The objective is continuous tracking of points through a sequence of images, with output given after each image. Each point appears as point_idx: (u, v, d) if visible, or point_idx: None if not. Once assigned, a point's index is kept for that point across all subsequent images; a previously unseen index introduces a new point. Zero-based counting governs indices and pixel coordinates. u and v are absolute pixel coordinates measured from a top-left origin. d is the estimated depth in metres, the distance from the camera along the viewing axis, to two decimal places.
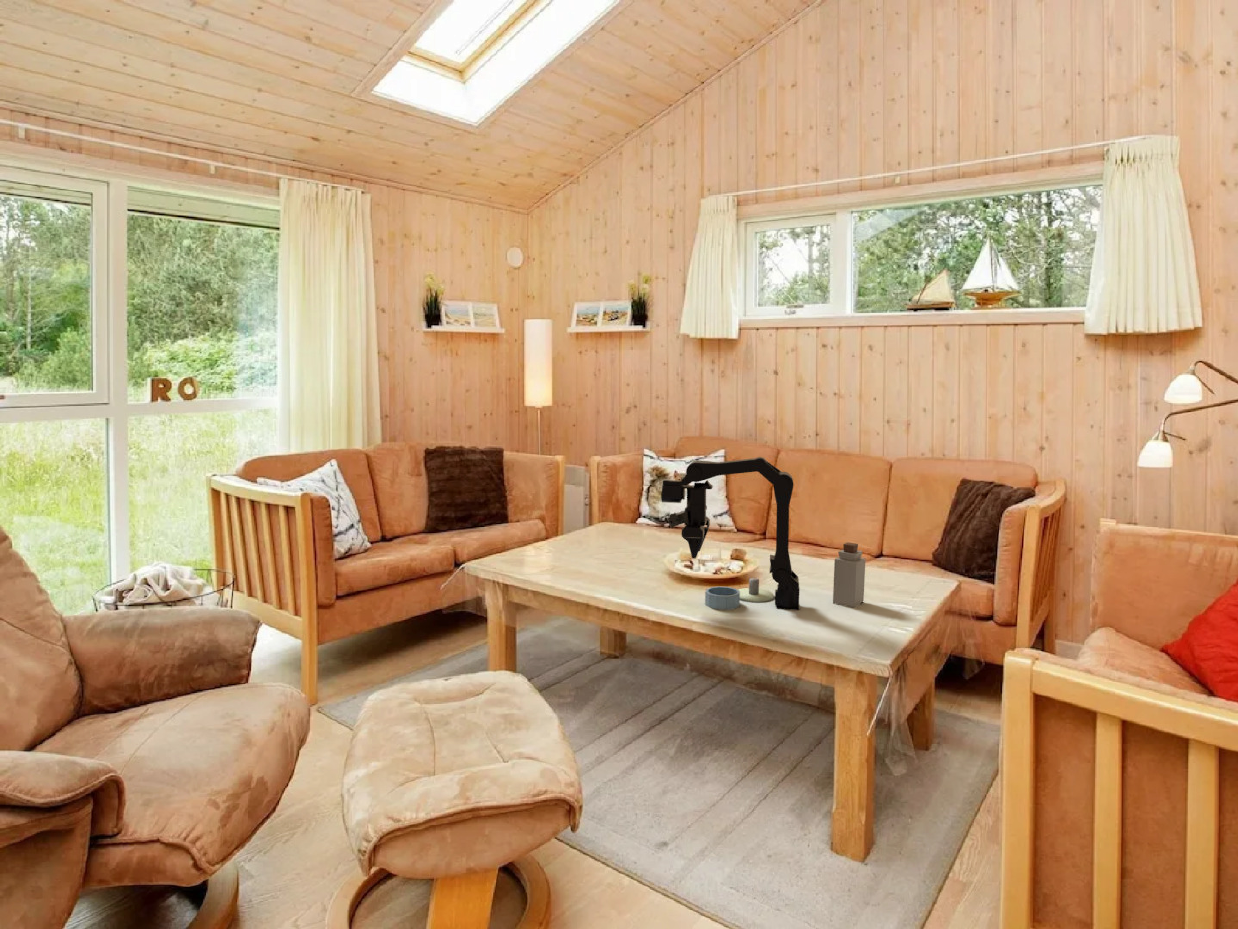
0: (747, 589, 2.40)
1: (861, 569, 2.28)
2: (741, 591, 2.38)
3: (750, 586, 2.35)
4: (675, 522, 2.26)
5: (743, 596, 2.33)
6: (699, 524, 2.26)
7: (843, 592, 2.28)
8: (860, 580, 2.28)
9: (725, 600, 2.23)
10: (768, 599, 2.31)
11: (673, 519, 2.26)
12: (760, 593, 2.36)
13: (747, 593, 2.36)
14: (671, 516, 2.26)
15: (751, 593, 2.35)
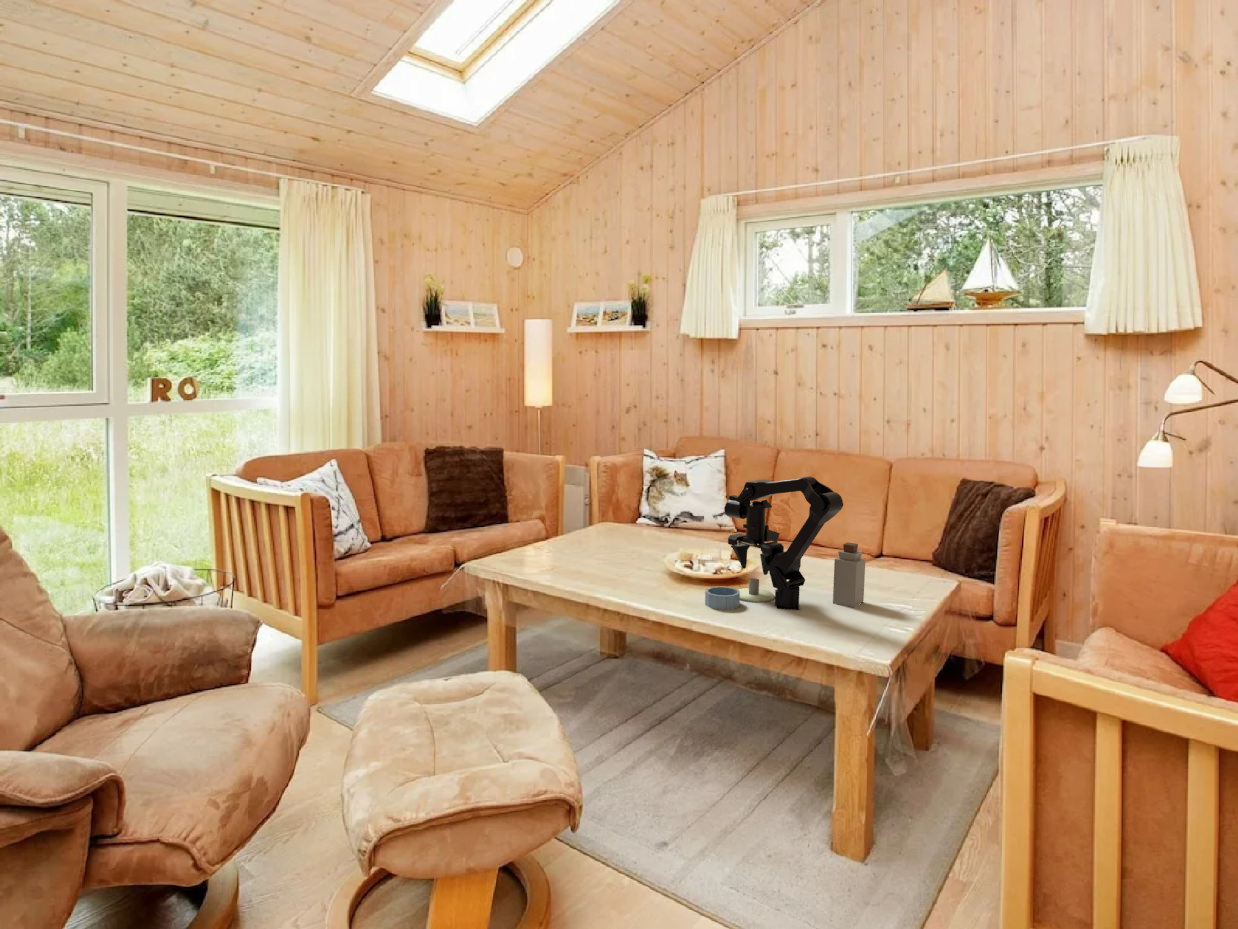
0: (747, 589, 2.40)
1: (861, 569, 2.28)
2: (741, 591, 2.38)
3: (750, 586, 2.35)
4: None
5: (743, 596, 2.33)
6: None
7: (843, 592, 2.28)
8: (860, 580, 2.28)
9: (725, 600, 2.23)
10: (768, 599, 2.31)
11: None
12: (760, 593, 2.36)
13: (747, 593, 2.36)
14: None
15: (751, 593, 2.35)
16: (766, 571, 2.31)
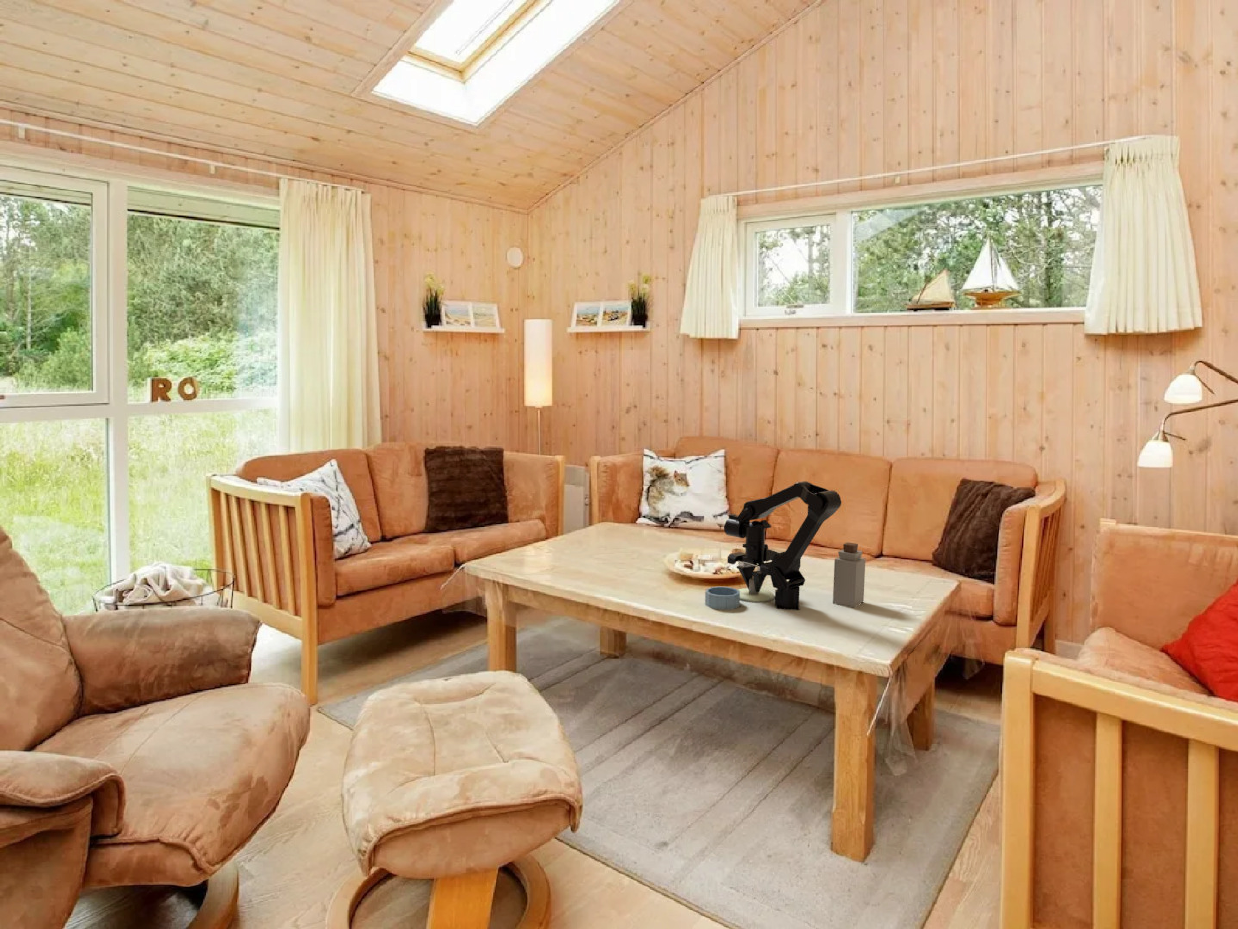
0: (747, 589, 2.40)
1: (861, 569, 2.28)
2: (741, 591, 2.38)
3: (750, 586, 2.35)
4: None
5: (743, 596, 2.33)
6: None
7: (843, 592, 2.28)
8: (860, 580, 2.28)
9: (725, 600, 2.23)
10: (768, 599, 2.31)
11: None
12: (760, 593, 2.36)
13: (747, 593, 2.36)
14: None
15: (751, 593, 2.35)
16: (758, 588, 2.34)
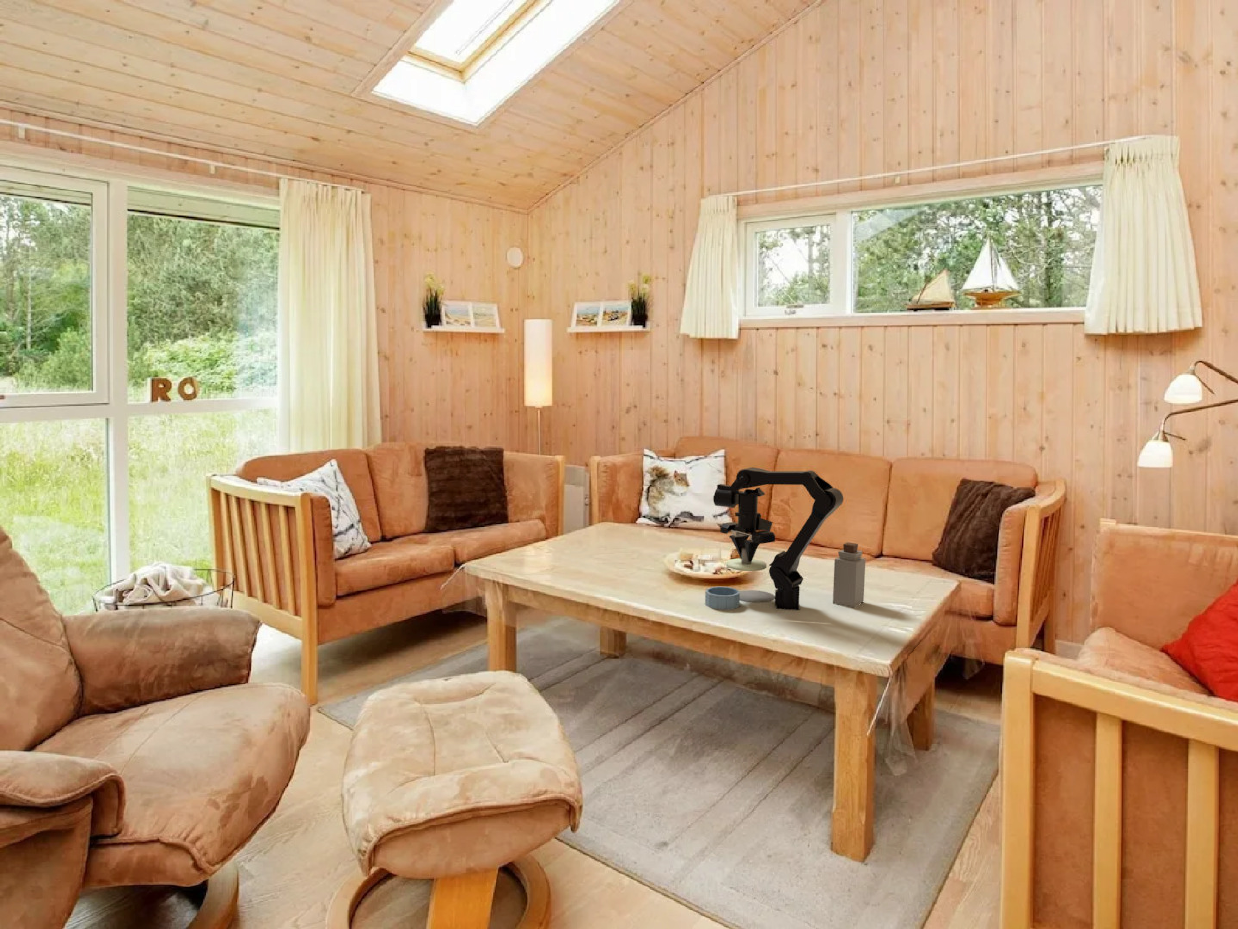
0: (740, 559, 2.37)
1: (861, 569, 2.28)
2: (734, 561, 2.35)
3: (742, 555, 2.32)
4: None
5: (735, 565, 2.30)
6: None
7: (843, 592, 2.28)
8: (860, 580, 2.28)
9: (725, 600, 2.23)
10: (760, 568, 2.28)
11: None
12: (753, 563, 2.33)
13: (740, 563, 2.33)
14: None
15: (743, 562, 2.32)
16: (751, 558, 2.31)
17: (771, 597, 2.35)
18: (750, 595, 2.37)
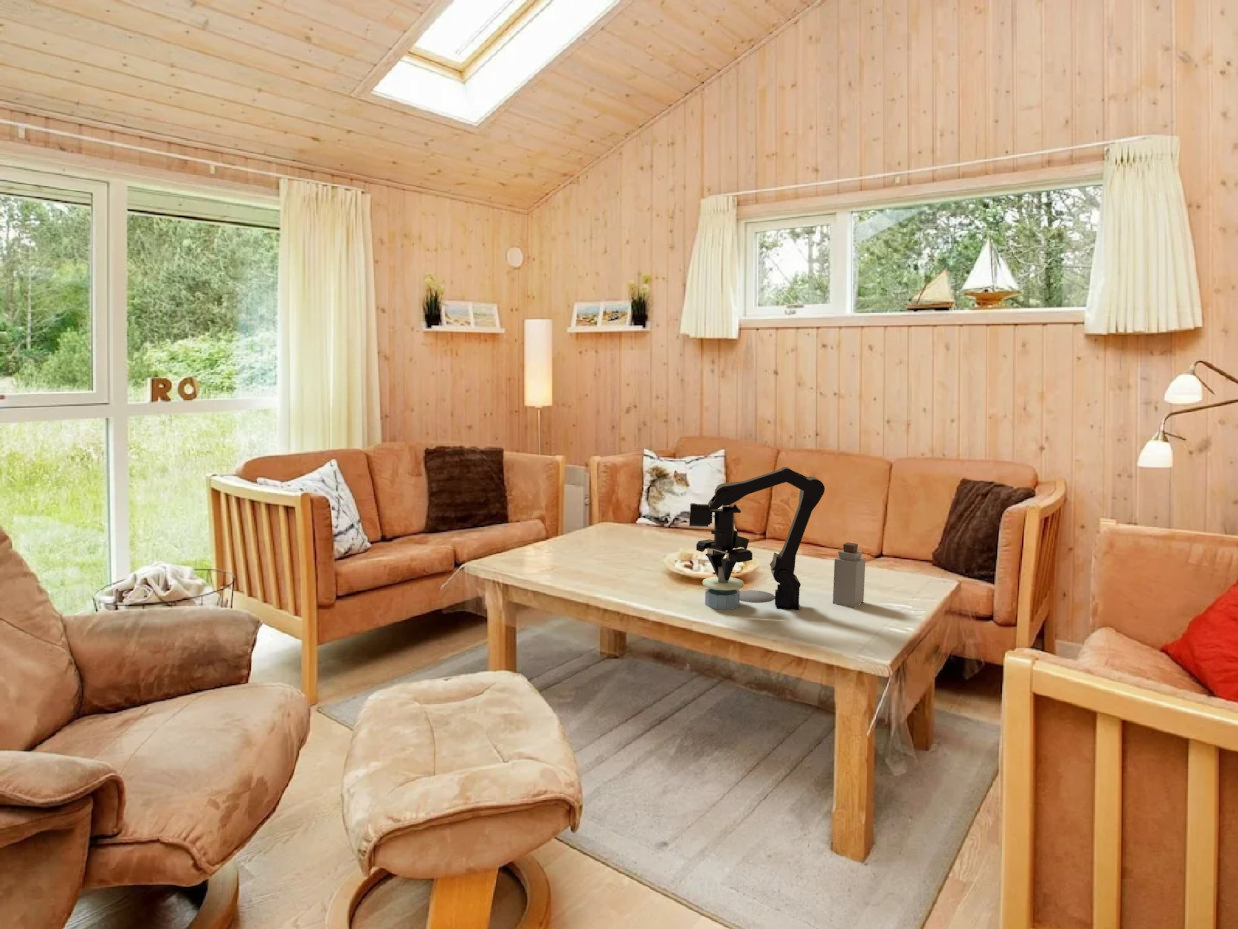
0: (717, 577, 2.32)
1: (861, 569, 2.28)
2: (710, 579, 2.29)
3: (719, 574, 2.26)
4: None
5: (712, 584, 2.24)
6: None
7: (843, 592, 2.28)
8: (860, 580, 2.28)
9: (725, 600, 2.23)
10: (737, 587, 2.22)
11: None
12: (730, 581, 2.27)
13: (716, 581, 2.27)
14: None
15: (720, 581, 2.26)
16: (727, 576, 2.25)
17: (771, 597, 2.35)
18: (750, 595, 2.37)
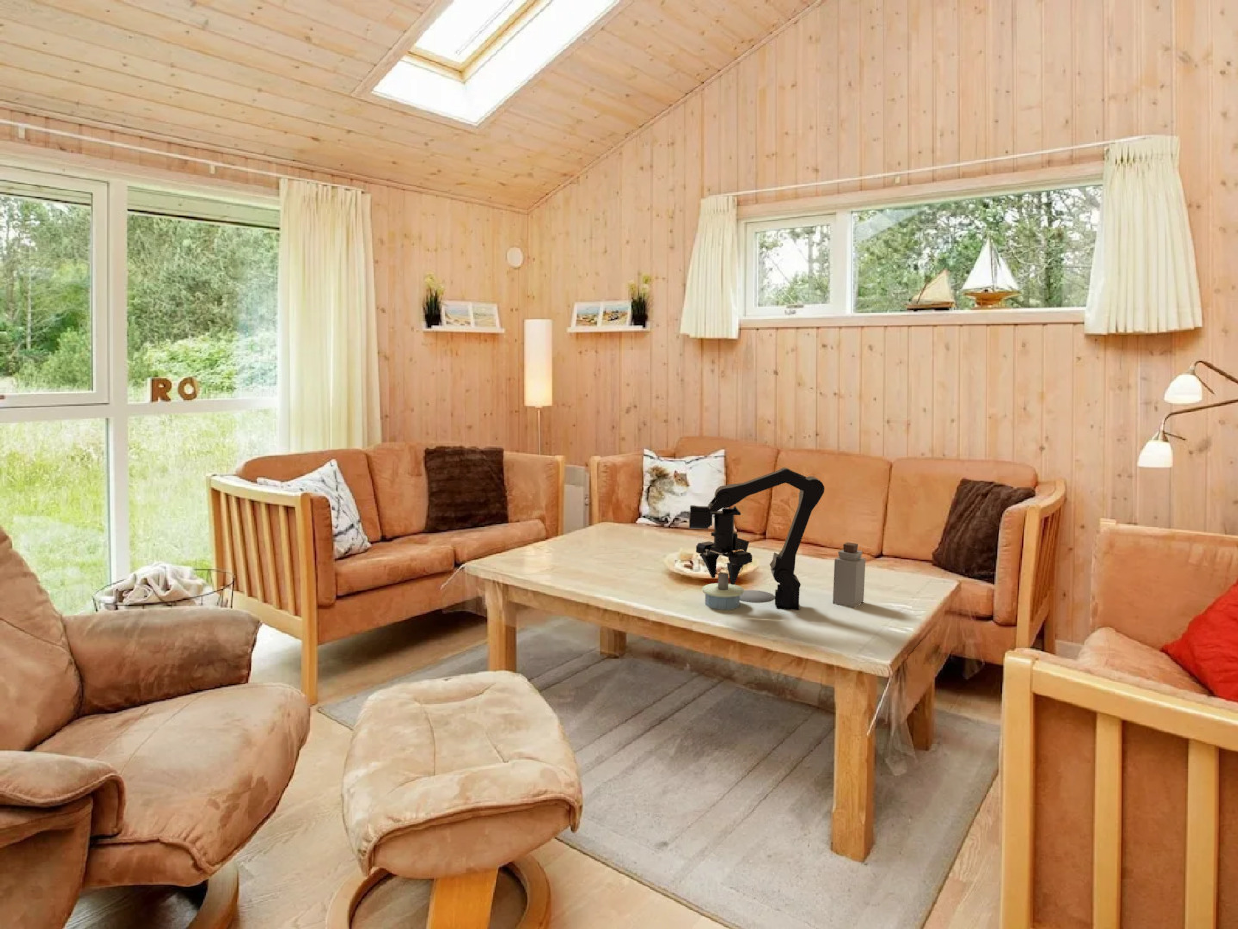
0: (717, 584, 2.32)
1: (861, 569, 2.28)
2: (710, 586, 2.30)
3: (719, 581, 2.26)
4: None
5: (711, 591, 2.24)
6: None
7: (843, 592, 2.28)
8: (860, 580, 2.28)
9: (725, 600, 2.23)
10: (737, 594, 2.23)
11: None
12: (730, 588, 2.28)
13: (716, 588, 2.27)
14: None
15: (720, 588, 2.26)
16: (733, 581, 2.23)
17: (771, 597, 2.35)
18: (750, 595, 2.37)
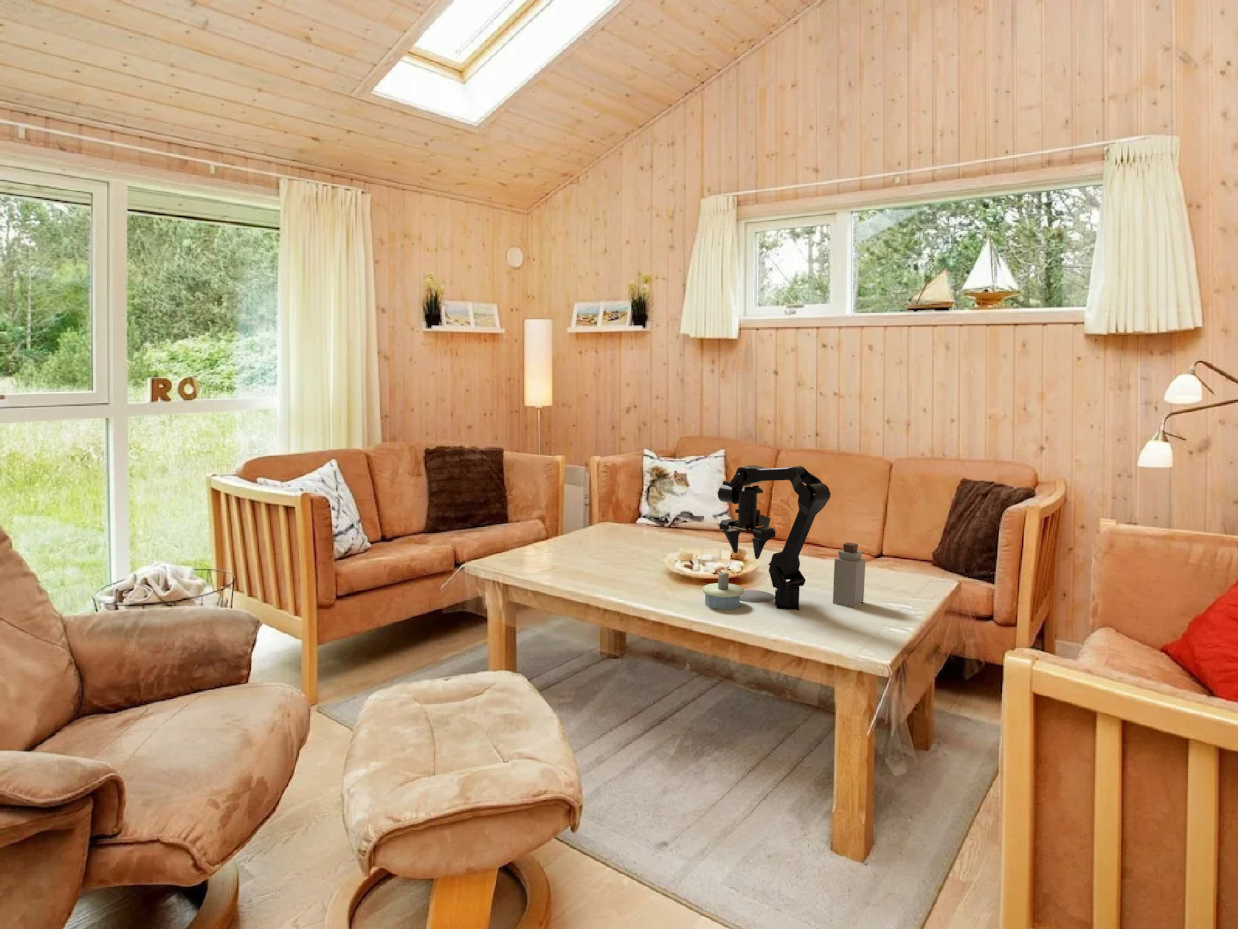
0: (717, 584, 2.32)
1: (861, 569, 2.28)
2: (710, 586, 2.30)
3: (719, 581, 2.26)
4: None
5: (712, 591, 2.24)
6: None
7: (843, 592, 2.28)
8: (860, 580, 2.28)
9: (725, 600, 2.23)
10: (737, 594, 2.23)
11: None
12: (730, 588, 2.28)
13: (716, 588, 2.27)
14: None
15: (720, 588, 2.26)
16: (758, 555, 2.34)
17: (771, 597, 2.35)
18: (750, 595, 2.37)
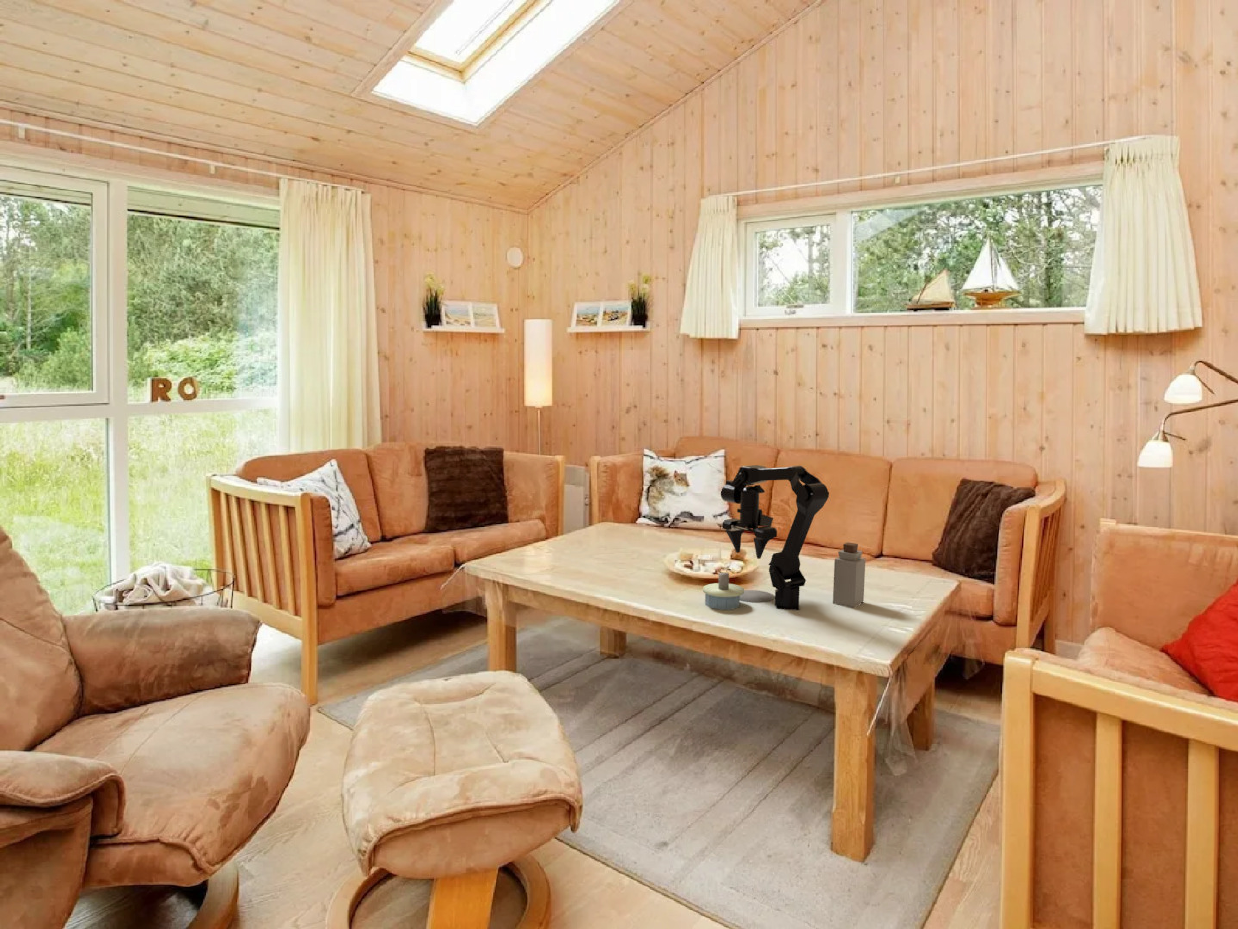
0: (717, 584, 2.32)
1: (861, 569, 2.28)
2: (711, 586, 2.30)
3: (720, 581, 2.26)
4: None
5: (712, 591, 2.24)
6: None
7: (843, 592, 2.28)
8: (860, 580, 2.28)
9: (725, 600, 2.23)
10: (738, 594, 2.23)
11: None
12: (730, 588, 2.28)
13: (717, 588, 2.27)
14: None
15: (721, 588, 2.26)
16: (759, 555, 2.34)
17: (771, 597, 2.35)
18: (750, 595, 2.37)
